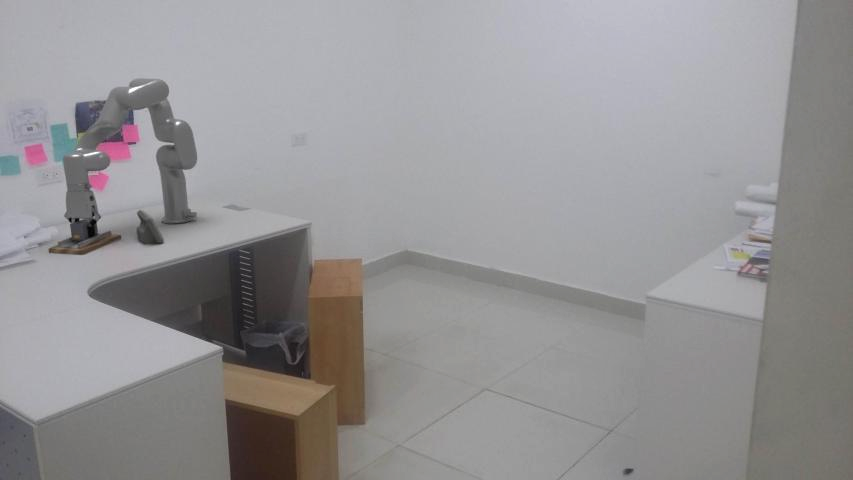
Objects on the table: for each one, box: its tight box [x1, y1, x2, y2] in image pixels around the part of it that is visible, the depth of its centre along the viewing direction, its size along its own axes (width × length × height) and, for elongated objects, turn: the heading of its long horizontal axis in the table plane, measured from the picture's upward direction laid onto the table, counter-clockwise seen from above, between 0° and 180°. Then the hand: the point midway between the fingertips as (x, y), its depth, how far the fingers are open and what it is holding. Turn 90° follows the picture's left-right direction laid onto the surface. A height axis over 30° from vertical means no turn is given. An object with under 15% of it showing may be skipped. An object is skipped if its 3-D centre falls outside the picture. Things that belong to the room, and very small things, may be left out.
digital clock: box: [136, 209, 165, 245], centre depth 276 cm, size 16×9×11 cm, turn 22°
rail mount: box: [48, 230, 122, 256], centre depth 270 cm, size 14×22×3 cm, turn 168°
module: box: [69, 219, 99, 241], centre depth 269 cm, size 5×9×6 cm, turn 168°
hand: (85, 235), depth 270 cm, fingers closed on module, 4 cm apart
